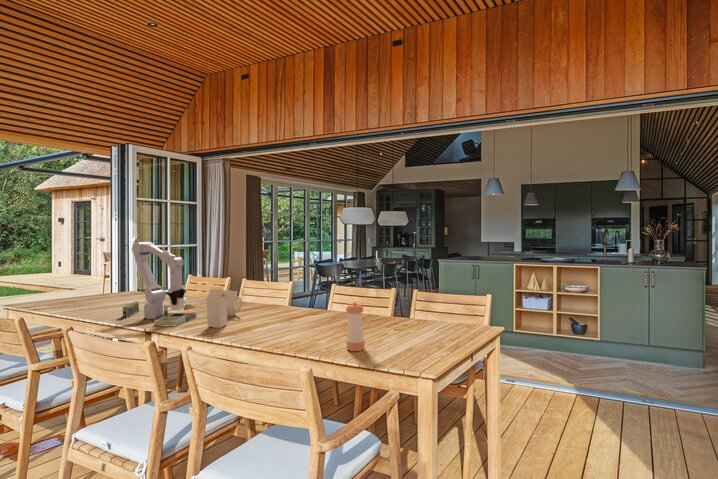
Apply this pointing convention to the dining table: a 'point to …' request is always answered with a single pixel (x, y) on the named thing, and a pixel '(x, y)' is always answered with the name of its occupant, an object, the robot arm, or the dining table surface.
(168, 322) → the tray
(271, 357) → the dining table surface
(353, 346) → the pepper shaker
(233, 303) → the pitcher
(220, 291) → the milk carton
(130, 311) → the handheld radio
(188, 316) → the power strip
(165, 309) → the clip
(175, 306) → the plug
